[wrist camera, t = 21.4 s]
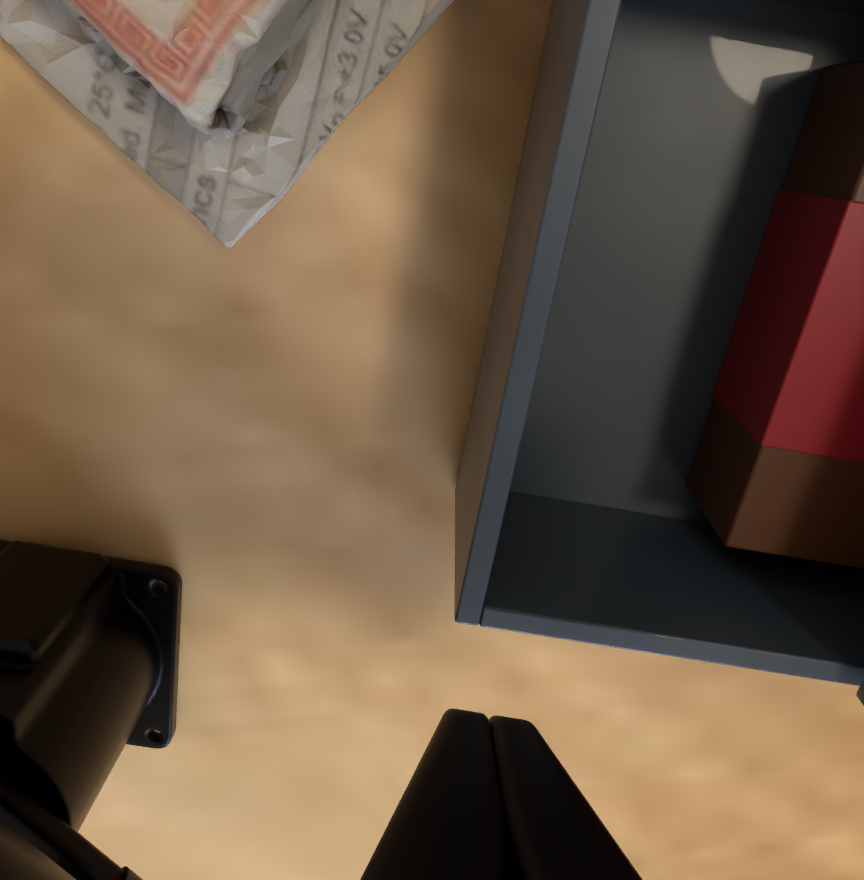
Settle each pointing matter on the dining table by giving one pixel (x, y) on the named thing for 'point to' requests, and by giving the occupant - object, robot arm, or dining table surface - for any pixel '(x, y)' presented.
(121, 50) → the packaged product
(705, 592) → the trash box
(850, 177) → the chocolate bar
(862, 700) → the flap
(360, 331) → the dining table surface
